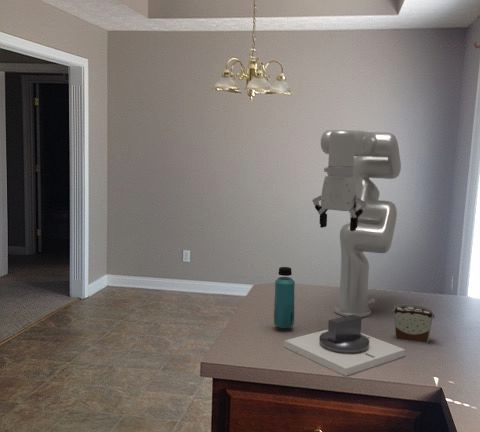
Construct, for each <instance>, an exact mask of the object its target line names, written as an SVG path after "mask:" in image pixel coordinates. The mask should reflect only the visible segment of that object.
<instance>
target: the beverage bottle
mask: <svg viewBox="0 0 480 432" xmlns="http://www.w3.org/2000/svg"><path fill="white" fill-rule="evenodd" d="M278 275H279V276H280V277H278V278H277V279H276V280H274V283H275V284H274V303H273V324H274V326H276V327H278V328H284V329H287V328H288V329H289V328H292V327H293V326H294V325H295V305H296V304H295V298H296V297H295V284H296V282H295V280H294V279H293V278H291V276H292V268H291V267H288V266H281V267H280V266H279V268H278ZM289 276H290V277H289Z"/></svg>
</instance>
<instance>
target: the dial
mask: <svg viewBox="0 0 480 432" xmlns="http://www.w3.org/2000/svg"><path fill="white" fill-rule="evenodd" d="M362 318H363V317H360V316H357V315H354V314H353V315H349V316H342V317H341V316H340V317H335V318H332V319H328V325H327V328H328V332H325V333H322V334H321V335H320V338H319V344H320V345H321V346H322V347H323V348H325V349H327V350H330V351H333V352H338V353H347V354H354V353H361V352H364V351H366V350H368V348H369V339H368V338H367V337H366V336H364V335H362V334H361V333H362Z"/></svg>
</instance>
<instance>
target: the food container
mask: <svg viewBox="0 0 480 432" xmlns="http://www.w3.org/2000/svg"><path fill="white" fill-rule="evenodd" d="M393 307H394V308H393V310H392V314H391V315H394V333H395V341H403V342H404V341H405V342H410V343H411V342H412V343H418V344H419V343H420V344H426V345H428V344H429V339H430V335H431V334H430V333H431V328H432V322H433V319H434V320H436V317H435V313H434V310H433V309H431V308H429V307H426V306H424V305H419V304H413V303H412V304H409V303H408V304H407V303H405V304H396V305H395V306H393Z"/></svg>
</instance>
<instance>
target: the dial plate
mask: <svg viewBox="0 0 480 432" xmlns="http://www.w3.org/2000/svg"><path fill="white" fill-rule="evenodd" d="M325 332H328V329H324V330H320V331H317V332H312V333H308V334H303V335H301V336H296V337H292V338H289V339H285V340H284V346H283V347H284V348H286V349H287V350H290V351H292V352H294V353H296V354H299V355H300V356H303V357H304V358H306V359H309V360H311V361H313V362H315V363H316V364H320V365H322V366H323V367H325V368H327V369H330V370H332V371H334V372H336V373H338V374H341V375H342V376H345V377H347V376H351V375H353V374H356V373H358V372H362V371H365V370H369V369H371V368H373V367H377V366H380V365H382V364H386V363H389V362H392V361H395V360H398V359H400V358H403V357H405V354H406V348H403V347H400V346H397V345H394V344H391V343H388V342H386V341H384V340H382V339H378V338H375V337H373V336H370V335H368V334H365V333H363V332H361V334H362V335H364V336H366V337H367V338H368V339H369V348H368V350H366V351H364V352H361V353H354V354H347V353H338V352H333V351H330V350H327V349H325V348H323V347H322V346H321V345H320V344H319V338H320V335H321V334H322V333H325Z"/></svg>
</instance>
